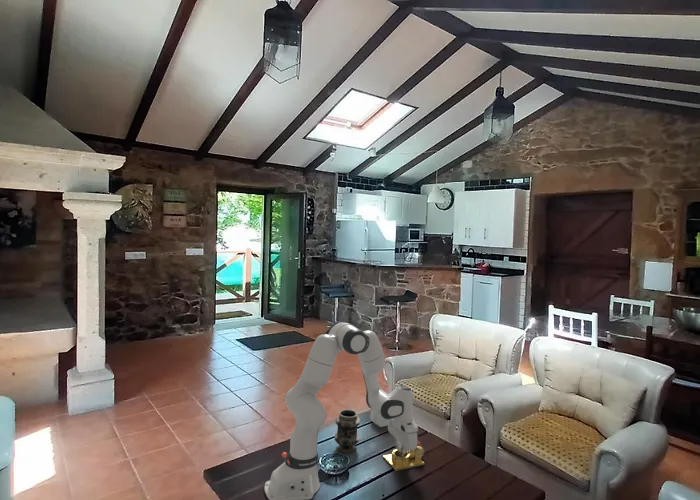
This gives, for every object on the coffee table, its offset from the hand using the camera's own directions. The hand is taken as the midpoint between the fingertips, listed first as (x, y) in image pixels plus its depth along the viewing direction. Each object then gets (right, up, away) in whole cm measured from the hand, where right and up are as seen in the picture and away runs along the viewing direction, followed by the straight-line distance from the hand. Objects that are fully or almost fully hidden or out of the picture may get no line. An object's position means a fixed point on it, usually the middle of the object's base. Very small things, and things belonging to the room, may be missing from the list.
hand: (401, 450), depth 202 cm
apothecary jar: (-25, -4, +10) cm, 27 cm away
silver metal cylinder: (0, -4, 0) cm, 4 cm away
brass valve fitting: (+2, -6, +1) cm, 6 cm away
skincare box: (-7, -3, +40) cm, 41 cm away
